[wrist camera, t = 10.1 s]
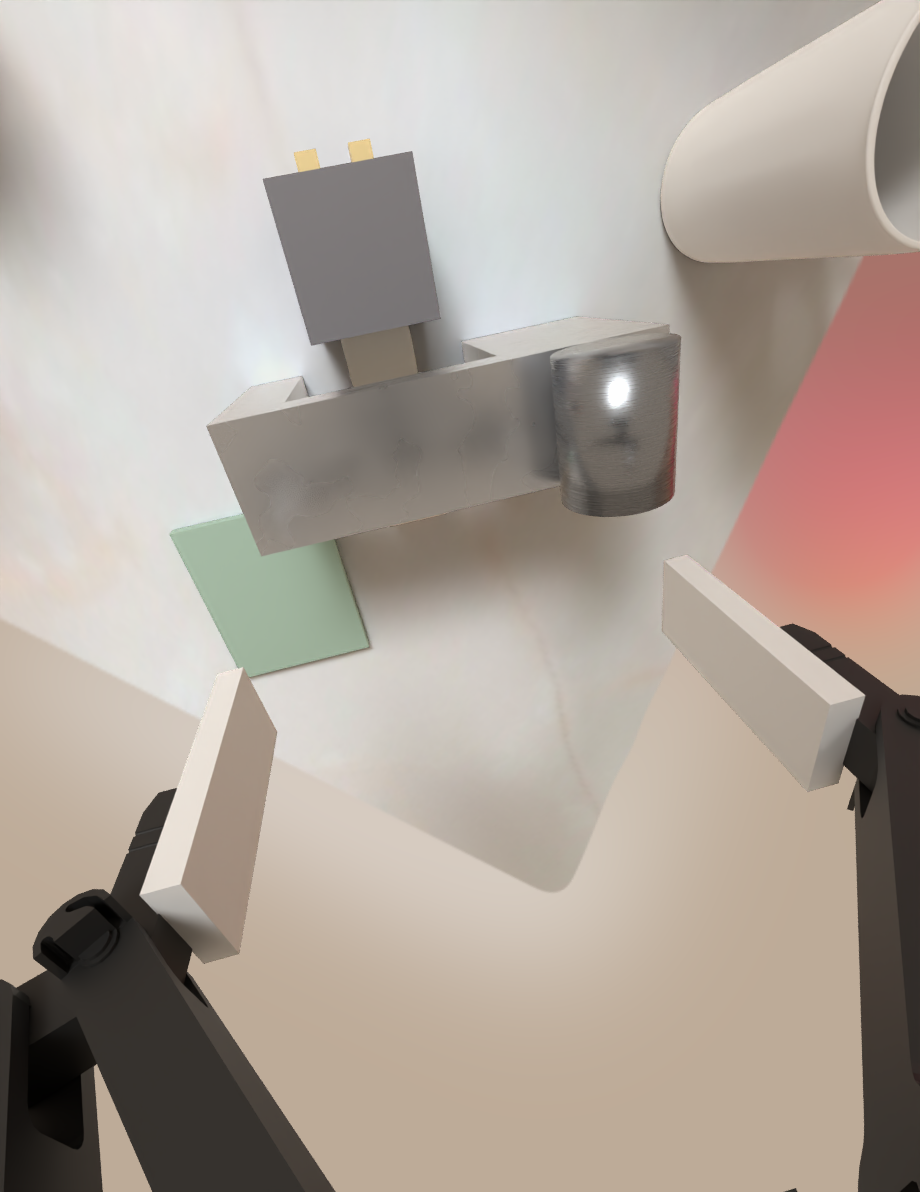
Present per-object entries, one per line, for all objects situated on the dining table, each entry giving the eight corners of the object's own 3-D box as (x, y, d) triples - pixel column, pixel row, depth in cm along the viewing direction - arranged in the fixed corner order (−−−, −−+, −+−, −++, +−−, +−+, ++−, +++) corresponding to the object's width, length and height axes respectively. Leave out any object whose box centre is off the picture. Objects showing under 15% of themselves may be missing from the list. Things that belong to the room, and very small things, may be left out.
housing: (250, 386, 25) (171, 457, 14) (576, 316, 26) (740, 330, 15) (286, 484, 28) (242, 609, 17) (582, 417, 29) (725, 492, 18)
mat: (172, 530, 28) (169, 534, 27) (320, 496, 28) (319, 499, 28) (245, 672, 33) (243, 678, 33) (368, 641, 34) (368, 647, 33)
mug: (644, 273, 26) (836, 257, 16) (663, 90, 23) (923, -83, 12) (826, 260, 27) (1115, 238, 17) (870, 85, 24) (1264, -76, 13)
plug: (275, 177, 22) (250, 139, 17) (393, 154, 22) (405, 111, 17) (369, 511, 29) (372, 556, 24) (455, 491, 30) (477, 531, 25)
